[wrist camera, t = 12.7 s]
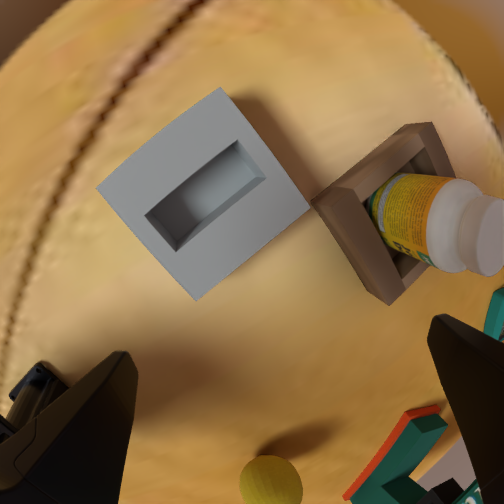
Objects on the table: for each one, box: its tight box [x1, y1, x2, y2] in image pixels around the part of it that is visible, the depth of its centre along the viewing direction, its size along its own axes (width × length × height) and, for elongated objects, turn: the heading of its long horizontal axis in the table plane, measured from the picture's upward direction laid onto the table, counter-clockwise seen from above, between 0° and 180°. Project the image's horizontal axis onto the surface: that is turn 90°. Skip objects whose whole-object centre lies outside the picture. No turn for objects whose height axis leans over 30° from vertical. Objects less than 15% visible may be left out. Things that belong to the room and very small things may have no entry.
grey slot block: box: [96, 87, 311, 301], centre depth 16 cm, size 8×8×3 cm
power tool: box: [342, 405, 483, 504], centre depth 21 cm, size 32×7×20 cm, turn 166°
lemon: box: [240, 455, 303, 504], centre depth 21 cm, size 6×6×8 cm
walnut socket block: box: [310, 122, 456, 306], centre depth 19 cm, size 10×8×3 cm
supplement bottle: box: [366, 172, 504, 277], centre depth 16 cm, size 5×5×10 cm
